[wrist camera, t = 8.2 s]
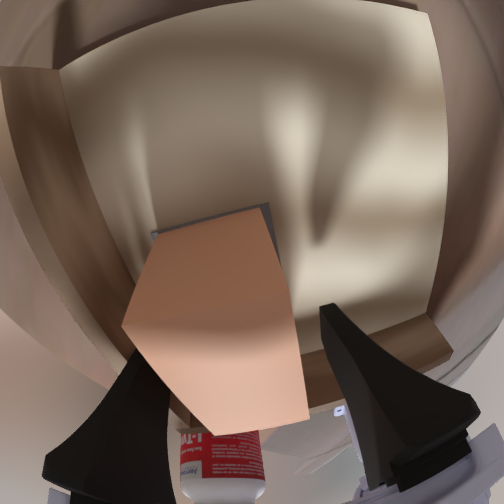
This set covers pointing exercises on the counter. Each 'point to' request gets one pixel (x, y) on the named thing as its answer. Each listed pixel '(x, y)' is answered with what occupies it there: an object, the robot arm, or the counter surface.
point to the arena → (243, 166)
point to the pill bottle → (222, 468)
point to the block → (221, 324)
